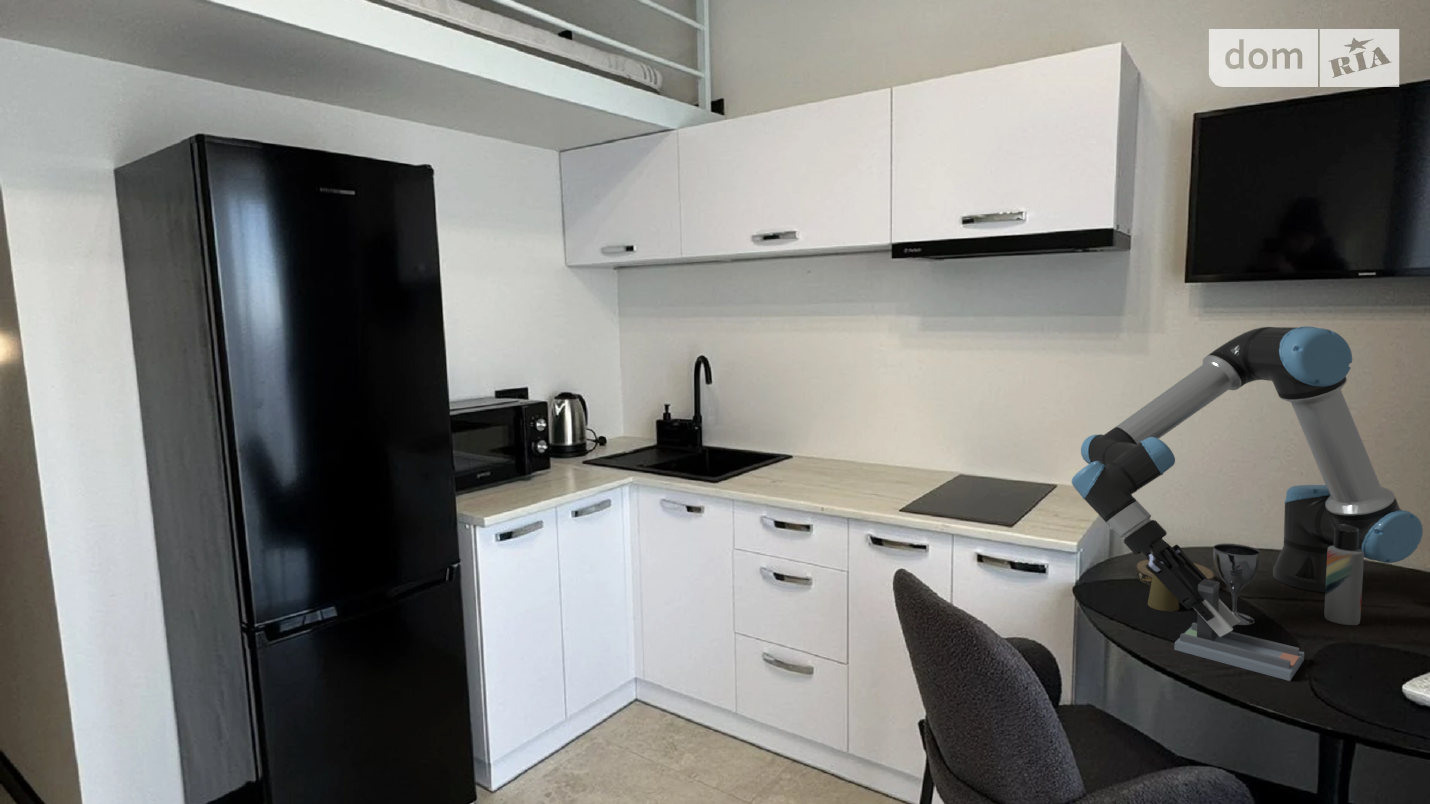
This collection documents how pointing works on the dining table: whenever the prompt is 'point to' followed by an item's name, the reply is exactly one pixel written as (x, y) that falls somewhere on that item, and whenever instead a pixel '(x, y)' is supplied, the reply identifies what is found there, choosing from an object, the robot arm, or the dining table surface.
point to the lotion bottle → (1344, 577)
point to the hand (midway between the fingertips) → (1230, 629)
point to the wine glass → (1236, 571)
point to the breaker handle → (1211, 594)
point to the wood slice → (1147, 575)
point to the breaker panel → (1244, 652)
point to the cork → (1161, 597)
